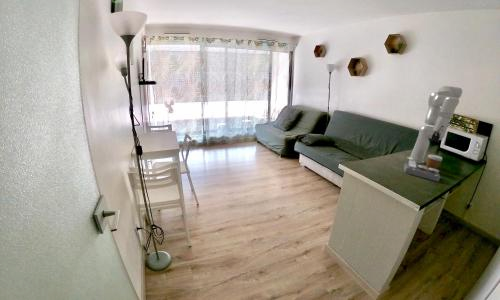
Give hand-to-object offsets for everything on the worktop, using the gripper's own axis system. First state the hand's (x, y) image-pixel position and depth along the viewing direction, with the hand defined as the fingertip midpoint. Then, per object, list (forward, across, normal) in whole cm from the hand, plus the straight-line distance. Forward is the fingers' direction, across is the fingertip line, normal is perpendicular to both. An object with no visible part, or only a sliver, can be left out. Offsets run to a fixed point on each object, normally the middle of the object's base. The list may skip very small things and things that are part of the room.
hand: (434, 140), depth 164 cm
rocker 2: (+22, 0, 0) cm, 22 cm away
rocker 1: (+22, 0, -7) cm, 23 cm away
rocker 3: (+22, 0, +7) cm, 23 cm away
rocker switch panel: (+27, -2, 0) cm, 27 cm away
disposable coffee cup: (+28, -18, +9) cm, 34 cm away
